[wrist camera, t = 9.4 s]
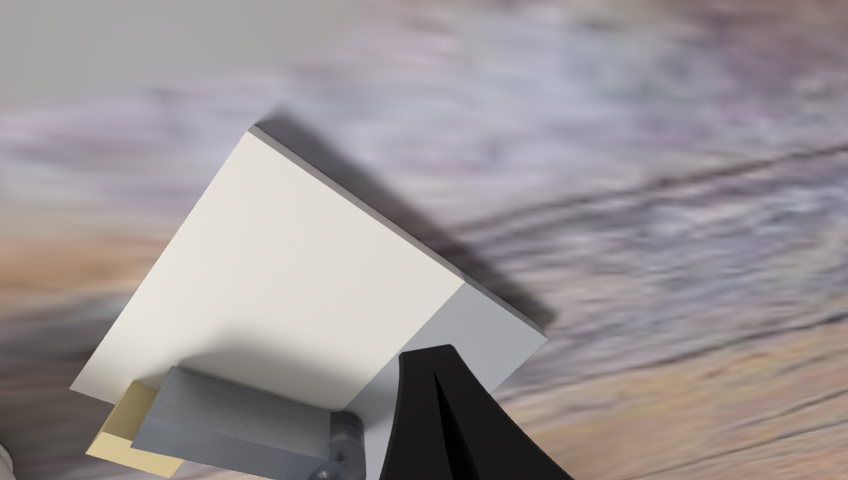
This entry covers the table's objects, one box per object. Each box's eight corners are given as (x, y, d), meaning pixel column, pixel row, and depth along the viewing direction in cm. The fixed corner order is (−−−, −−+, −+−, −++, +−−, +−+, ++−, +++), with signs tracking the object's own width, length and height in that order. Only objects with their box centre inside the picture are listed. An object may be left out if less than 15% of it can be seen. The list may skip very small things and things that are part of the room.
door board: (539, 325, 24) (573, 376, 20) (377, 478, 27) (382, 544, 24) (253, 124, 16) (228, 149, 13) (83, 370, 20) (27, 442, 16)
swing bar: (373, 419, 23) (377, 466, 20) (348, 452, 23) (349, 501, 21) (175, 359, 19) (149, 408, 16) (153, 400, 20) (126, 453, 17)
